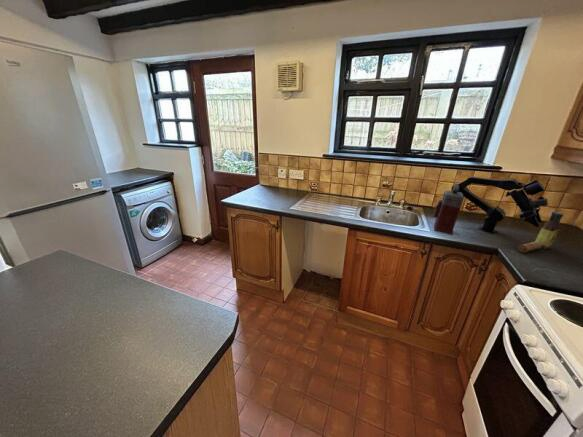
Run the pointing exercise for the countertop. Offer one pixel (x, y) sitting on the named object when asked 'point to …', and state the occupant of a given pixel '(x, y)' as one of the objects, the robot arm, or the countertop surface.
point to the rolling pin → (529, 247)
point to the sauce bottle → (549, 230)
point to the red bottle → (448, 210)
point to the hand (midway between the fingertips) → (539, 224)
